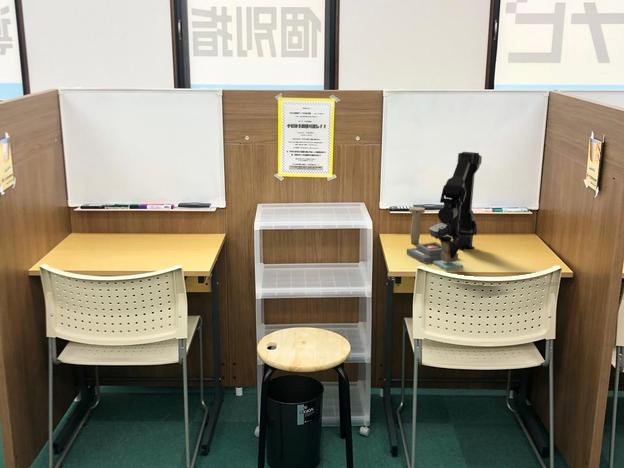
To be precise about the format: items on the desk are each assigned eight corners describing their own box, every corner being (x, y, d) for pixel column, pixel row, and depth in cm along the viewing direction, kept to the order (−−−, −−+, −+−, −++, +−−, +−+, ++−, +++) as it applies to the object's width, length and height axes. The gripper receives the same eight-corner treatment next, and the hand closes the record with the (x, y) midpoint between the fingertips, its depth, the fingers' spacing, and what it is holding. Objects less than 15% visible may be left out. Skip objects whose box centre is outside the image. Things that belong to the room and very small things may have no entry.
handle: (422, 245, 280) (425, 210, 275) (407, 244, 280) (409, 209, 276) (422, 241, 284) (424, 207, 280) (406, 241, 285) (409, 206, 281)
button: (433, 253, 269) (434, 244, 268) (439, 256, 265) (440, 248, 264) (424, 254, 267) (424, 246, 266) (430, 258, 264) (431, 249, 263)
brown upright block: (449, 258, 258) (450, 240, 256) (455, 261, 254) (457, 243, 252) (440, 259, 256) (442, 241, 254) (446, 262, 252) (448, 244, 250)
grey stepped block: (439, 249, 275) (440, 240, 274) (457, 258, 264) (458, 248, 263) (406, 253, 268) (407, 244, 267) (423, 263, 258) (424, 253, 257)
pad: (450, 261, 261) (450, 258, 260) (462, 267, 254) (463, 265, 253) (432, 263, 257) (433, 261, 257) (445, 270, 251) (445, 267, 250)
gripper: (419, 212, 255) (416, 251, 259) (449, 225, 239) (445, 266, 243) (444, 209, 259) (440, 248, 264) (474, 222, 243) (470, 263, 248)
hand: (448, 256), depth 255 cm, fingers closed on brown upright block, 4 cm apart
